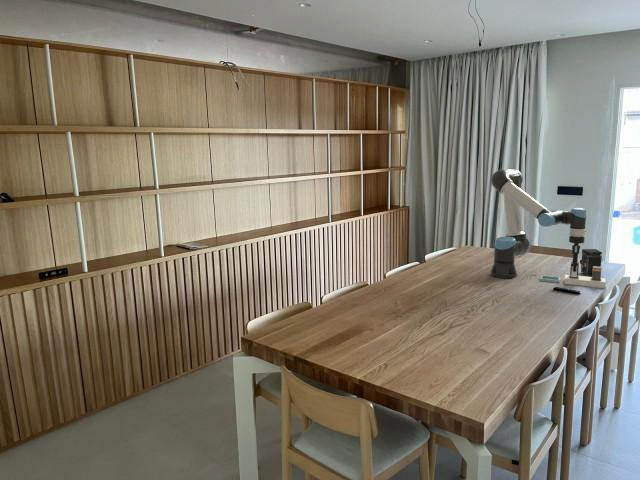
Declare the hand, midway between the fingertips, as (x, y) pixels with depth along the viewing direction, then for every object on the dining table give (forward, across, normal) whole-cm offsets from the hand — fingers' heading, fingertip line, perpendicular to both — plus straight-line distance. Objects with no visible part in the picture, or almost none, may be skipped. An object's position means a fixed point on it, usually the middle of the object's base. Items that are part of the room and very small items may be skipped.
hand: (573, 275), depth 267 cm
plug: (+2, 0, 0) cm, 2 cm away
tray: (+4, 0, +12) cm, 13 cm away
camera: (+5, +26, -8) cm, 28 cm away
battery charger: (+4, 0, -6) cm, 7 cm away
